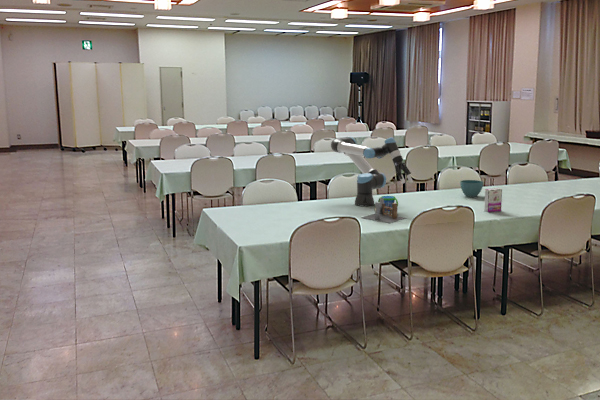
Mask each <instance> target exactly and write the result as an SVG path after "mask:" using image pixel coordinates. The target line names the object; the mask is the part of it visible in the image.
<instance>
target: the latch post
mask: <svg viewBox="0 0 600 400" xmlns="http://www.w3.org/2000/svg"><path fill="white" fill-rule="evenodd" d="M374 214H375V220H379V216H380V202H378V201H374Z"/></svg>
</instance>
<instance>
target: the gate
mask: <svg viewBox="0 0 600 400" xmlns="http://www.w3.org/2000/svg"><path fill="white" fill-rule="evenodd" d="M385 208H386V211H385ZM388 209H390V211H388ZM391 210H392V211H391ZM383 215H388V216H391V217H392V218H393V219H397V216H398V207H397V203H396V202H394V203H392V208H390V207H387V206H385V204H383Z"/></svg>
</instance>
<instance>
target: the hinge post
mask: <svg viewBox="0 0 600 400" xmlns="http://www.w3.org/2000/svg"><path fill="white" fill-rule="evenodd" d="M379 198H380V197H379ZM383 204H384V198H380V215H383Z"/></svg>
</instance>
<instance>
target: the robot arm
mask: <svg viewBox="0 0 600 400" xmlns="http://www.w3.org/2000/svg"><path fill="white" fill-rule="evenodd" d="M330 148H331V150H332V151H333V152H334V153H339V154H342V153H343V154H344V155H345V157H348V158H349V159H350V160H351V161H352V162H353V164H354V165H355V166H356V167H357V168H358V169H359V170H360V172H361V173H360V174H358V176H357V179H356V195H355V196H356V197H355V199H354V205H355V206H359V207H370V206H375V200H374V196H373V190H378V189H383V188H384V187H385V186H386V184H387V177H386V175H385V173H382V172H379V170H377V169H376V168H373V167H372V165H370V163H369V162H368V161H367V160H366V159H375V158H377V159H382V158H384V157H386V156H387V155H388V154H389V156H390V158H391V159H392V162H393V166H394V169H395V173H396V176H397V177H398V178H399V180H400V182H401V184H405V183H406V180H405V178H404V175H403V174H402V171H403V172H404V174H405V175H406V177H407V180H408V182H409V184H412V183H413V182H414V181H413V178H412V176H411V174H412V172H411V171H410V170H409V168H408V167H407V165H406V163H405V162H403V161H404V158H403V156H402V154H401V150H400V149H399V147H398V144H397V142H396V140H395V138H394V137H388V138H386V139H385V140H384V144H383V145H381V146H377V147H376V146H375V147H368V146H363V145H359V144H357V141H356V140H355V138H353V137H352V136H345V137H336V138H334V139H332V140H331V142H330Z"/></svg>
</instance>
